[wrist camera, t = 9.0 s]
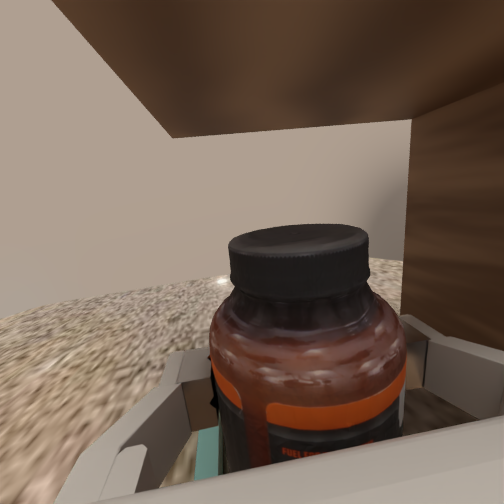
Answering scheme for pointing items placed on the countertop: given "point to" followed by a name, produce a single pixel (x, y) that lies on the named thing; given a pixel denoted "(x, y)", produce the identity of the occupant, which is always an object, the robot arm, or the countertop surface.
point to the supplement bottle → (305, 347)
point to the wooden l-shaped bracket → (346, 110)
